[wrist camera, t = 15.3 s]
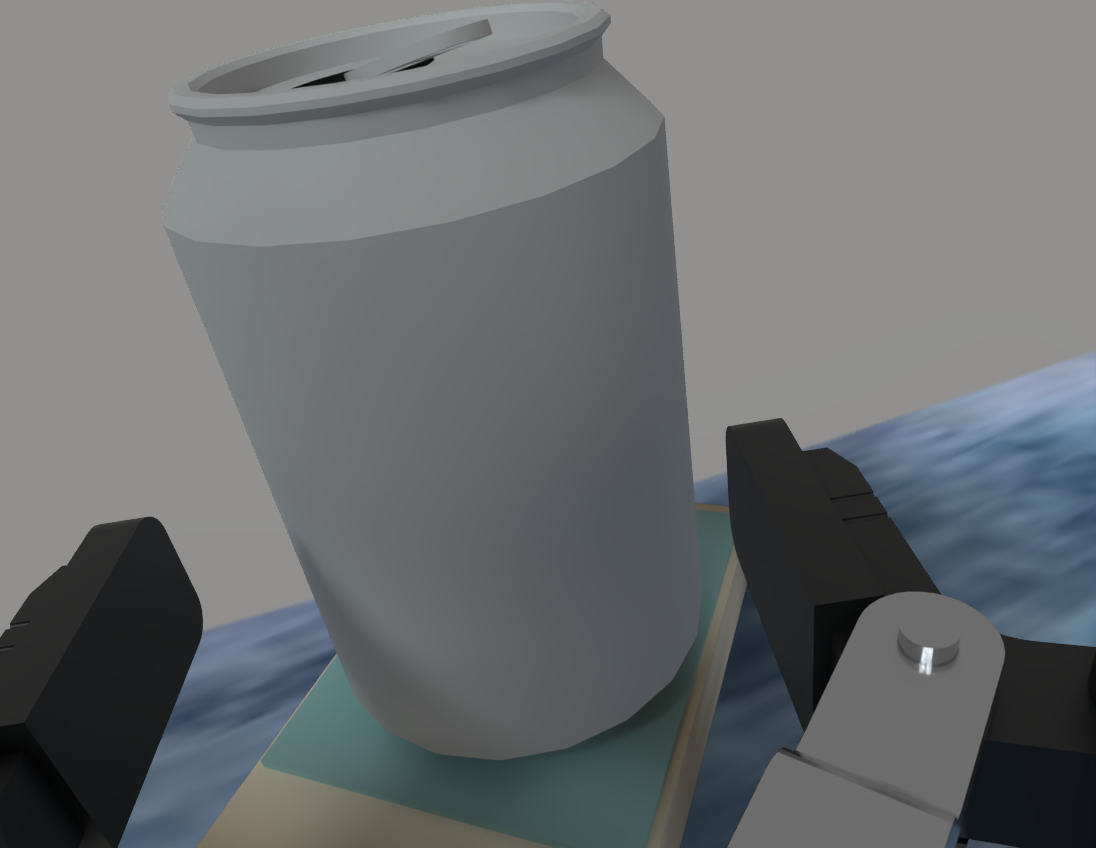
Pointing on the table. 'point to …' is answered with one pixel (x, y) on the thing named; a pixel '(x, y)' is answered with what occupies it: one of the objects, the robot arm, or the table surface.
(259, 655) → the table surface
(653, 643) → the can
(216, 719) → the table surface
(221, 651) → the table surface
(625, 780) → the beam
